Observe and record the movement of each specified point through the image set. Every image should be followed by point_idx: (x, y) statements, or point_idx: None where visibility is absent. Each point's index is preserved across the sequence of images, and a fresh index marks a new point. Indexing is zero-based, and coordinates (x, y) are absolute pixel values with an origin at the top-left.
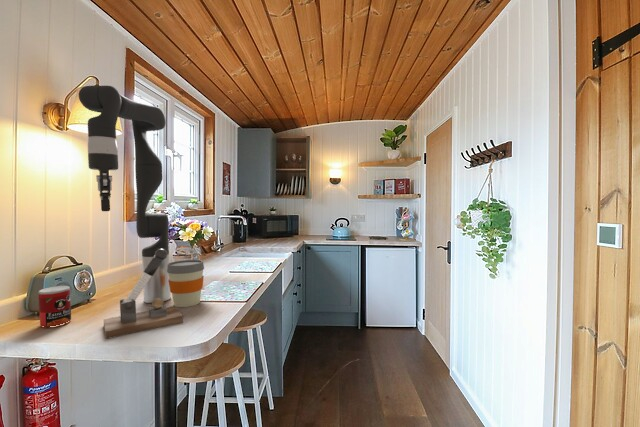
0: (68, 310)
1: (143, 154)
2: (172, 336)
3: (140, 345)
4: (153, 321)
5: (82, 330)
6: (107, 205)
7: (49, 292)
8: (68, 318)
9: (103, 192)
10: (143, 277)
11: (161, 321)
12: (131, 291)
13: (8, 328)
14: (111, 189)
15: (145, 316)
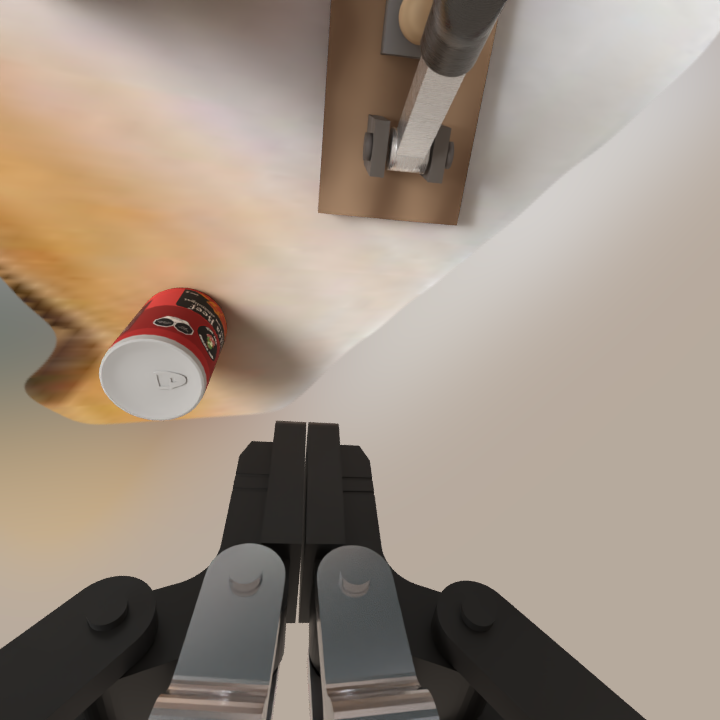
0: (197, 309)
1: None
2: (611, 36)
3: (590, 147)
4: (485, 66)
5: (316, 265)
6: (368, 490)
7: (202, 393)
8: (204, 299)
9: (477, 713)
10: (458, 83)
11: (493, 33)
12: (408, 136)
13: None
14: (436, 713)
15: (397, 74)
